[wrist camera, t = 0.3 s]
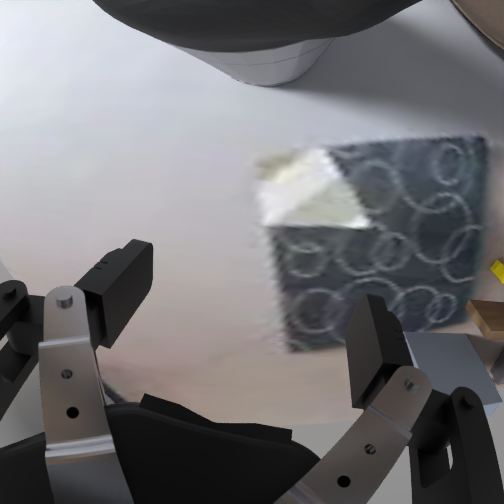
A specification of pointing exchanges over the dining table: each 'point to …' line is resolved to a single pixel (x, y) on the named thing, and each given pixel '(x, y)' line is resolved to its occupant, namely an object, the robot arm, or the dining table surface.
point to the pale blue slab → (452, 365)
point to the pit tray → (499, 369)
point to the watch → (498, 270)
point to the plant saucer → (485, 17)
